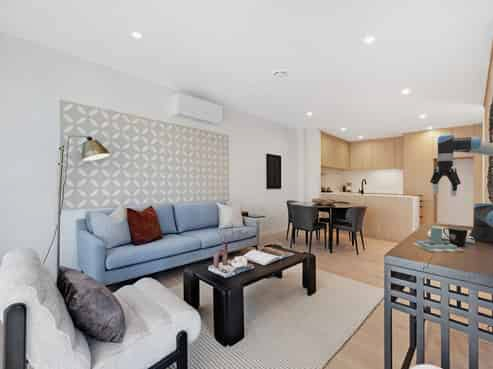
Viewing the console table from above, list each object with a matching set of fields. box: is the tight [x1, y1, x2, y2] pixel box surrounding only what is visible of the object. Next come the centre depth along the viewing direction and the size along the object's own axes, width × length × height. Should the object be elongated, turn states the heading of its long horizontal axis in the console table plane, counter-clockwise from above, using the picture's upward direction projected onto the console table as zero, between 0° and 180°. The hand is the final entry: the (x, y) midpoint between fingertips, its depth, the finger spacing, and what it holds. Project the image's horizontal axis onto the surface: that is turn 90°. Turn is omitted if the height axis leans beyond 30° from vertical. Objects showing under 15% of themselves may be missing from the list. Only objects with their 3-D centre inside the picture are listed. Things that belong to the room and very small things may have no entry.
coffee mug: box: [442, 226, 469, 248], centre depth 142 cm, size 12×9×10 cm
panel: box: [416, 226, 458, 249], centre depth 136 cm, size 15×10×10 cm, turn 89°
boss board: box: [412, 240, 465, 254], centre depth 135 cm, size 18×14×4 cm
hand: (444, 195), depth 148 cm, fingers open, 13 cm apart
